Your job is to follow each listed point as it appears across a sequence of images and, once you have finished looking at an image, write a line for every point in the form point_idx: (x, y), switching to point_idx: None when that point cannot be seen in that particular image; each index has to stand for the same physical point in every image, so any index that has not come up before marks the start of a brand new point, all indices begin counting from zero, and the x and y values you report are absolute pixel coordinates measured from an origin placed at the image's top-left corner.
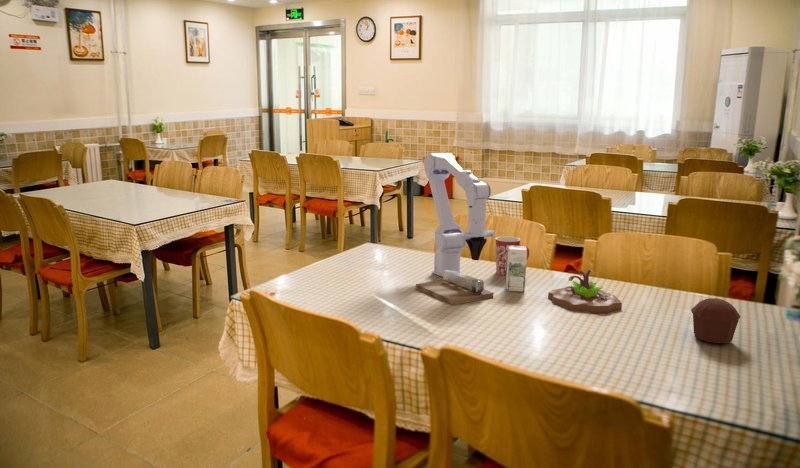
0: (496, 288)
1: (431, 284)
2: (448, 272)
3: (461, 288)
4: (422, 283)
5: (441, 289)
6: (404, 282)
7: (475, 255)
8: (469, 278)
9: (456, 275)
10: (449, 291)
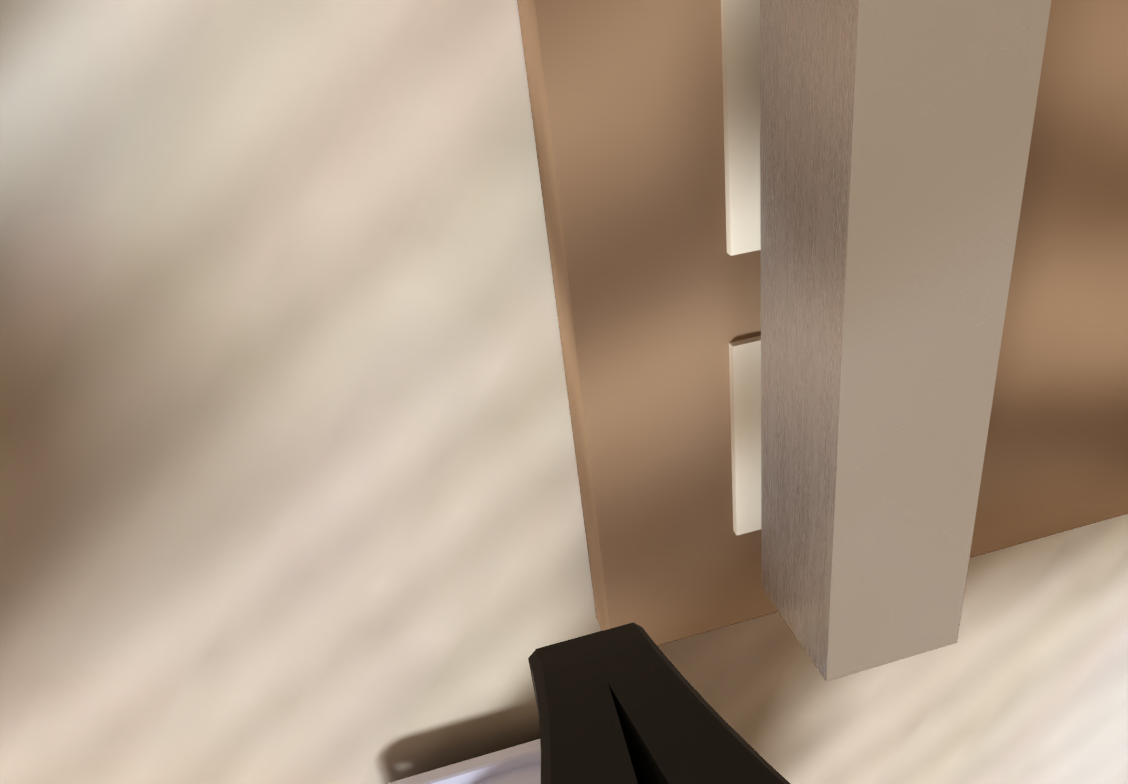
0: (112, 200)
1: (1043, 456)
2: (971, 531)
3: None
4: (1091, 514)
5: (1112, 210)
6: (1050, 678)
7: (716, 724)
8: (978, 15)
9: (996, 335)
10: (1100, 75)
